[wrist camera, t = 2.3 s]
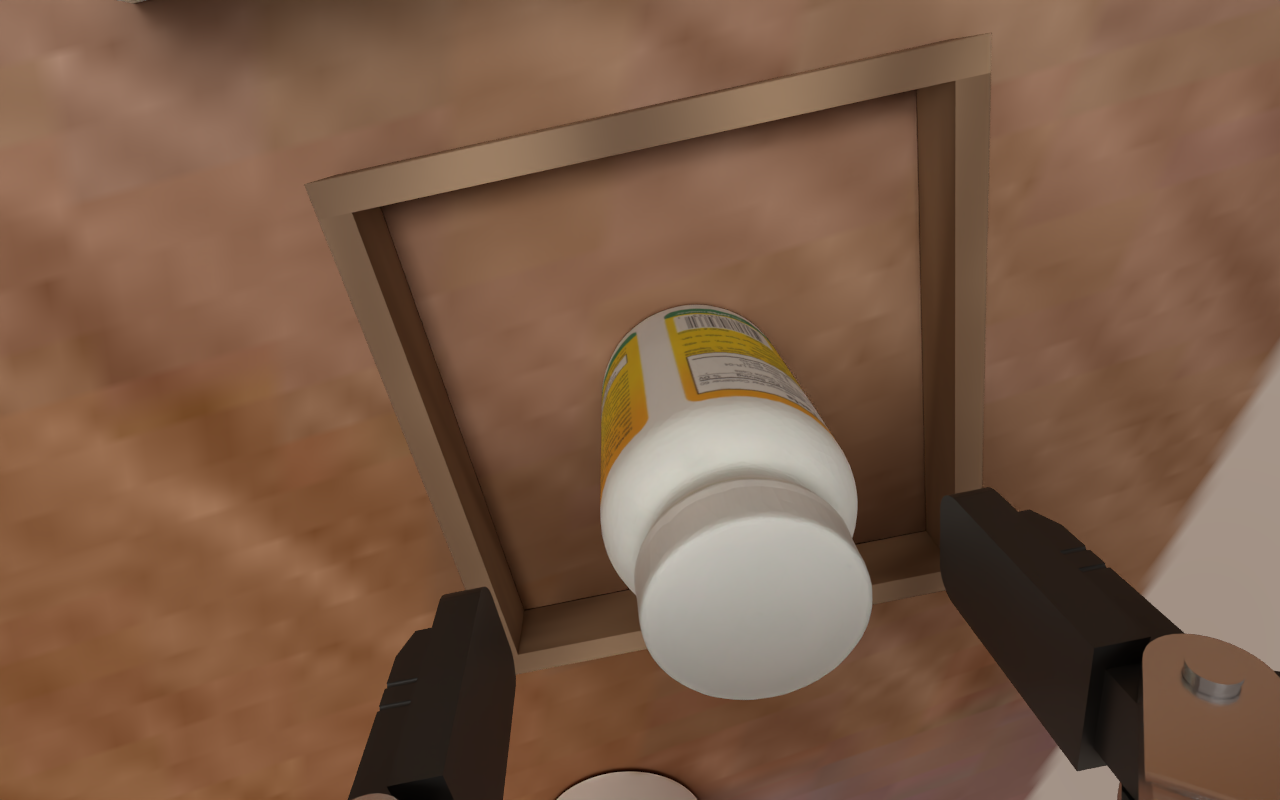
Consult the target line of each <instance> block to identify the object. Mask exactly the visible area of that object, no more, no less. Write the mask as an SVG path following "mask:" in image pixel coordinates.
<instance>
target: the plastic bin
mask: <svg viewBox="0 0 1280 800" xmlns="http://www.w3.org/2000/svg"><path fill="white" fill-rule="evenodd" d="M118 1H123V2H128V3H137V2H141V1H146V0H118Z"/></svg>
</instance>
